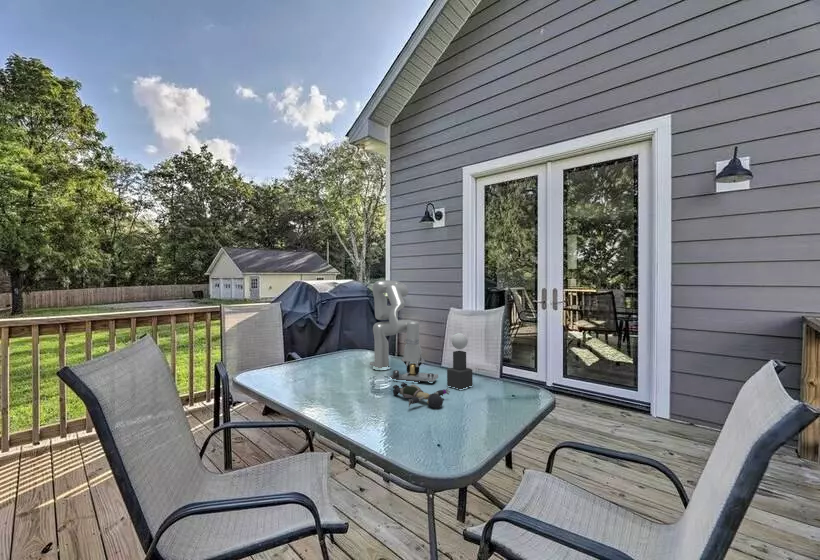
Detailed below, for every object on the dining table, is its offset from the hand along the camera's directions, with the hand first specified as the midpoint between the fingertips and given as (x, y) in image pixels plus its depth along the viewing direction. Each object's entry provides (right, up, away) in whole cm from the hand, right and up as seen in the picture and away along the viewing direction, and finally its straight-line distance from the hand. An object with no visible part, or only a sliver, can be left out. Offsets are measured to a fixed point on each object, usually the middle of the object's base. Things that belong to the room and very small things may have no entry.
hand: (413, 372), depth 219 cm
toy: (+2, -5, -38) cm, 38 cm away
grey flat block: (0, -5, 0) cm, 5 cm away
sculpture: (+26, -5, -14) cm, 30 cm away
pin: (0, -5, 0) cm, 5 cm away
